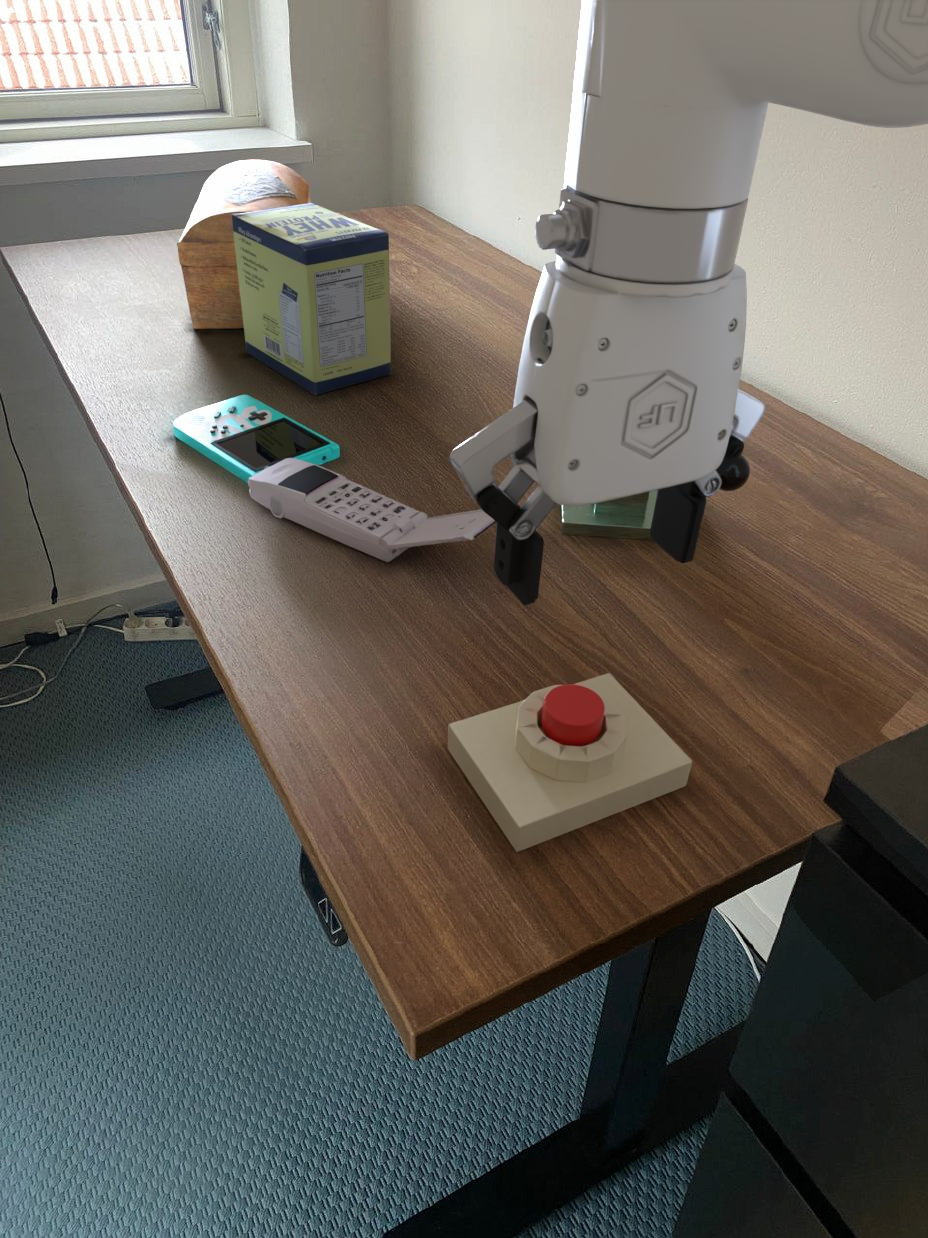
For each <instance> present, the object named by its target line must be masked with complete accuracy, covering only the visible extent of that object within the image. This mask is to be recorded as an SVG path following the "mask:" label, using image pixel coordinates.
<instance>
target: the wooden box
mask: <svg viewBox="0 0 928 1238" xmlns="http://www.w3.org/2000/svg"><path fill="white" fill-rule="evenodd" d="M202 186H203V187H202V189H201V191H200V193H199V196H198V199H197V201H196V203H195V204H194V207H193V209H192V211H191V213H190V217H189V219H188V221H187V223H186V226H185V228H184V230H183V232H182V235H181V237H180V238H179V240H178V242H177V243H176V246H177V253H178V262H179V265H180V267H181V271H182V278H183V282H184V288H185V294H186V299H187V304H188V310H189V314H190V319H191V324H192V328H193V329H195V330H205V329H206V330H207V329H208V330H209V329H210V330H211V329H216V330H219V329H220V330H222V329H244V325H243V316H242V306H241V297H240V288H239V279H238V270H237V261H236V252H235V242H234V233H233V223H232V216H231V215H232V214H239V213H246V212H254V211H260V210H267V209H274V208H281V207H288V206H294V205H301V204H308V203H312V201H311V200H312V199H311V189H310V185H309V183H308V182H307V181H306V179H304V177H303V176H301V175H300V174H299V173H298V172H297V171H295V170H294V169H292V168H290V167H288V166H287V165H285V164H282V163H279V162H276V161H272V160H265V159H244V160H243V159H242V160H237V161H233V162H231V163H228V164H227V163H226V164H225V165H223V166H221V167H219V168H218V169H216V170H215V171H214V172H212V174H211V175H210V176H209V177H208V178H207V179H206V181H205V182H204V184H203V185H202Z"/></svg>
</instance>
